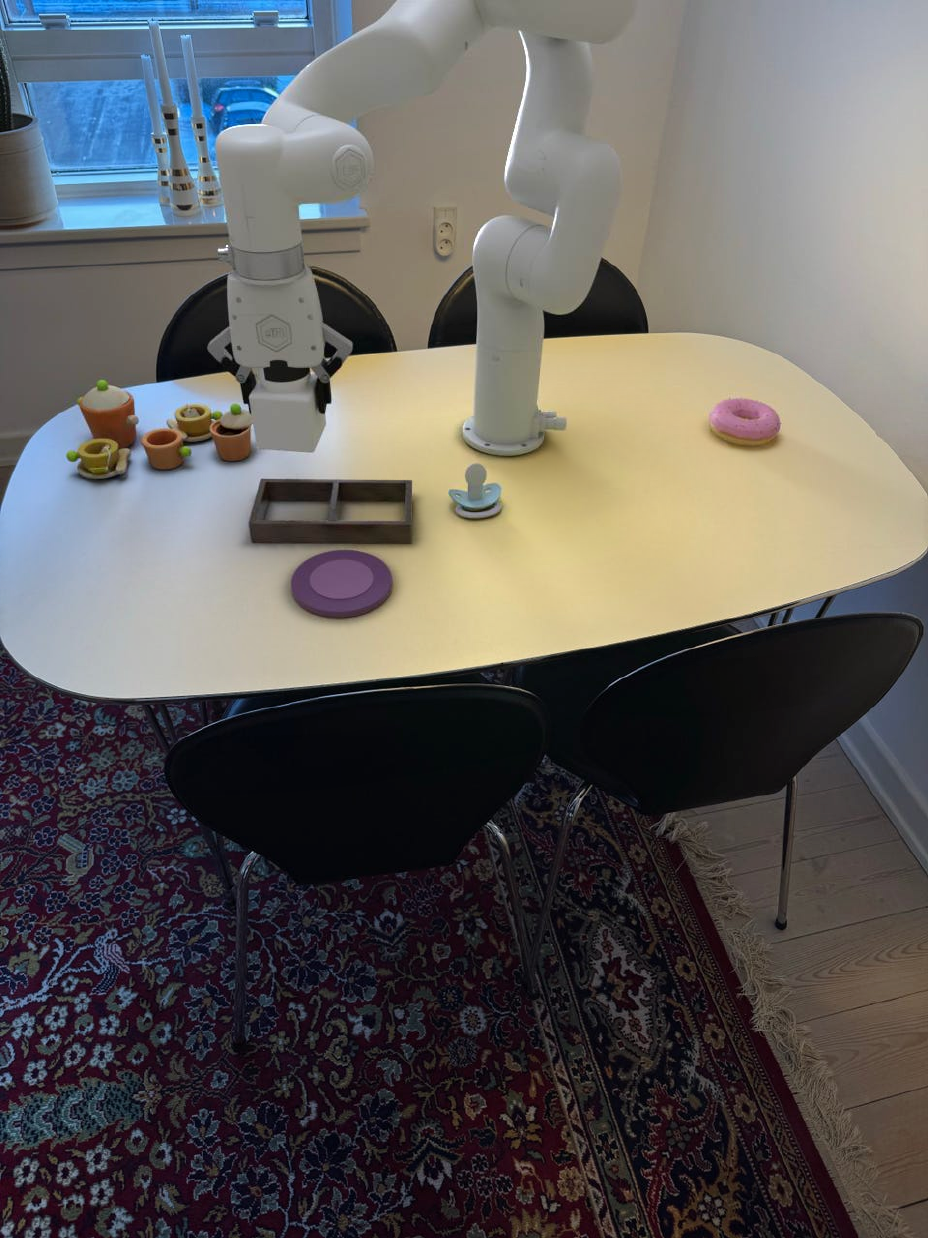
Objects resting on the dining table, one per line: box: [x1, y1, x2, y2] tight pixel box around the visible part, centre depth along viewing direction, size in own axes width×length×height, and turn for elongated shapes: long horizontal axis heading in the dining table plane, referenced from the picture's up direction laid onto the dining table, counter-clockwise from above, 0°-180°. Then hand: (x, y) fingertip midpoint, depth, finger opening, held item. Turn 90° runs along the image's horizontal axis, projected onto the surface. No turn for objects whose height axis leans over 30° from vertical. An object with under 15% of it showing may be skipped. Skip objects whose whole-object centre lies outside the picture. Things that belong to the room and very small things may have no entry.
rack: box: [248, 478, 413, 544], centre depth 112 cm, size 20×11×3 cm, turn 92°
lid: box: [290, 549, 393, 619], centre depth 103 cm, size 12×12×1 cm
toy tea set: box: [65, 379, 253, 480], centre depth 123 cm, size 26×16×10 cm, turn 106°
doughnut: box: [708, 396, 782, 447], centre depth 134 cm, size 11×11×4 cm
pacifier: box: [447, 462, 503, 519], centre depth 114 cm, size 7×6×6 cm
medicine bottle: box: [249, 360, 327, 454], centre depth 102 cm, size 7×7×12 cm
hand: (288, 407), depth 103 cm, fingers closed on medicine bottle, 7 cm apart
